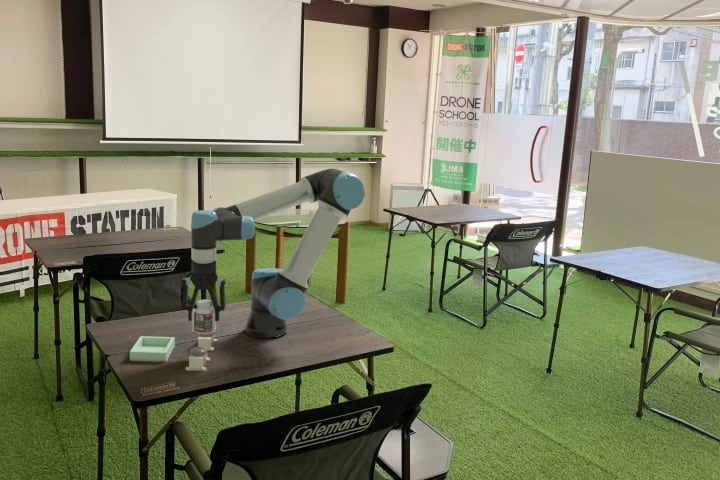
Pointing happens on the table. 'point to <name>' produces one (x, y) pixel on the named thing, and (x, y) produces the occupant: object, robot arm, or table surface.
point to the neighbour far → (209, 336)
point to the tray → (152, 349)
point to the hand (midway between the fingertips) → (204, 330)
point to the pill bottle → (203, 317)
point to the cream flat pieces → (197, 362)
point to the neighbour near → (199, 353)
